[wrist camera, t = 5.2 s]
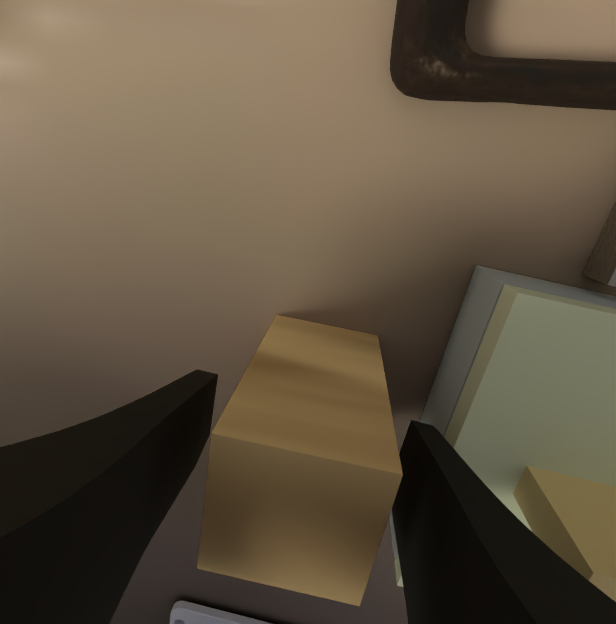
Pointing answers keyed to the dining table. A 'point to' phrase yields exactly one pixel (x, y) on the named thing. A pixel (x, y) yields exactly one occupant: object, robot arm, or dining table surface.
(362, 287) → the dining table surface
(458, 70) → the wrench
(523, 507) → the lid
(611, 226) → the keeper
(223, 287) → the dining table surface
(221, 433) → the wooden block
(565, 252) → the dining table surface
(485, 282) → the shallow grey tray
